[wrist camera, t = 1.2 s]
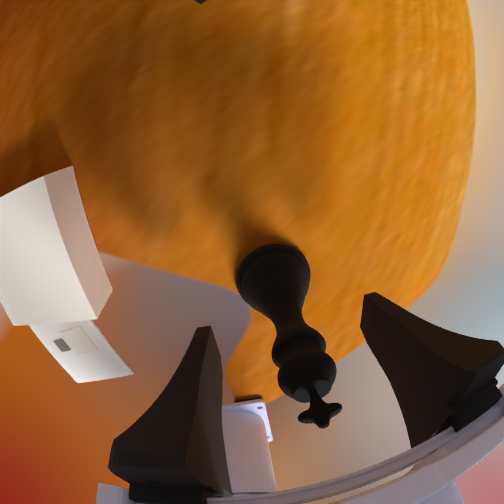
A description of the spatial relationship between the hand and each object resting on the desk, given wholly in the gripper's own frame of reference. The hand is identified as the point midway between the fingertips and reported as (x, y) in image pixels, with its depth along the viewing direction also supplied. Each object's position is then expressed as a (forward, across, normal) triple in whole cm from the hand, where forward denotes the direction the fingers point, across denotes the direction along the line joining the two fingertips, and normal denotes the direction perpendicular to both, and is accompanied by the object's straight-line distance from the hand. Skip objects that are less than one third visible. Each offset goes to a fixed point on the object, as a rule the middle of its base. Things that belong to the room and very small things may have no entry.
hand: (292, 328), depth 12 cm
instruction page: (+5, +16, +3) cm, 17 cm away
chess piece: (+5, 0, 0) cm, 5 cm away
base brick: (+5, +14, -5) cm, 16 cm away
